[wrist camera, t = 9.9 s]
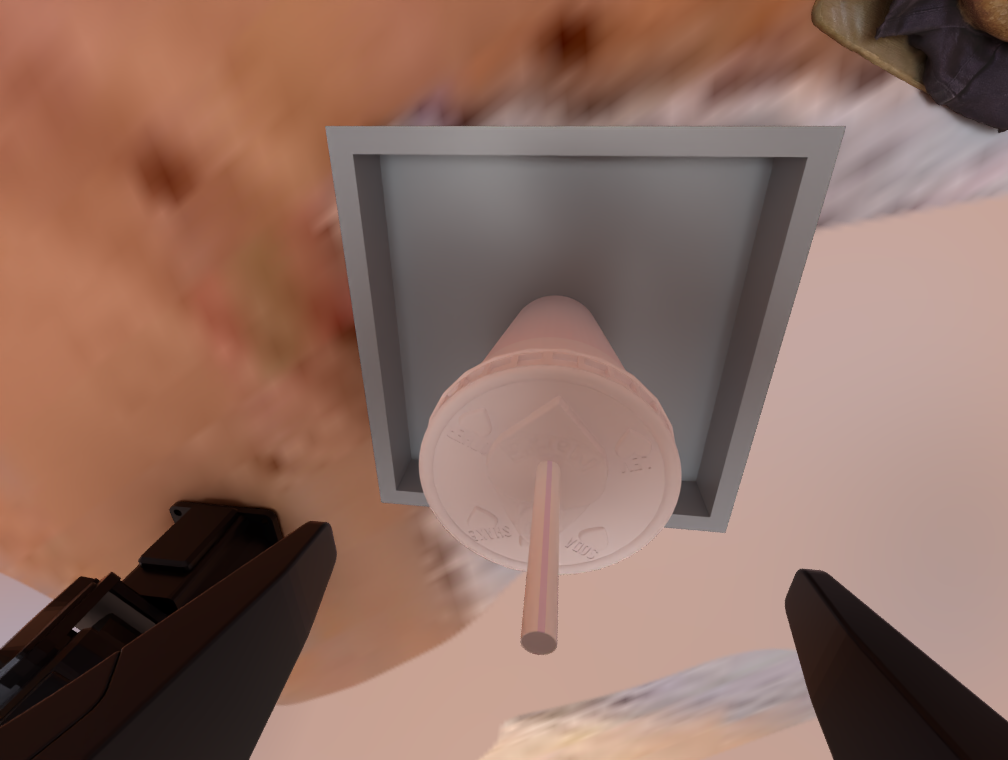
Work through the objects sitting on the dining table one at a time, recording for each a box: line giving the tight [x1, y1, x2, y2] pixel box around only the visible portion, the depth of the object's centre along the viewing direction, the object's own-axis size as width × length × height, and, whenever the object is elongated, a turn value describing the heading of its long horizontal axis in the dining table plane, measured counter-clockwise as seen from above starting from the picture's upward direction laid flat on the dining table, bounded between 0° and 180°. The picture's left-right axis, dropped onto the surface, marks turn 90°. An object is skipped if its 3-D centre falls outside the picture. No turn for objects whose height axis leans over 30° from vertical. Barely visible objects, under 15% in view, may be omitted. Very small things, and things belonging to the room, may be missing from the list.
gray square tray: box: [325, 126, 846, 533], centre depth 19 cm, size 16×16×3 cm
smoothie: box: [419, 295, 682, 655], centre depth 13 cm, size 6×6×14 cm
